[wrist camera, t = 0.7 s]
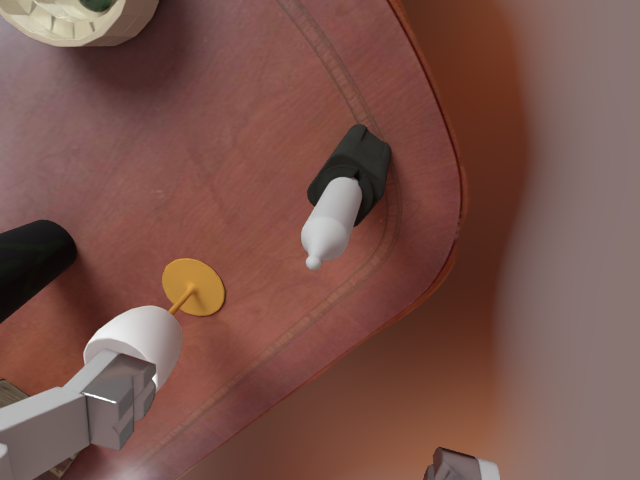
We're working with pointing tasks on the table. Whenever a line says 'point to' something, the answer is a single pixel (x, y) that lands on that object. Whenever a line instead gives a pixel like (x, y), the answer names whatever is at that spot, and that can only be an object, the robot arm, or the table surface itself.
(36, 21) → the bowl
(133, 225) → the table surface
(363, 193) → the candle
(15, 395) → the hardback book
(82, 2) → the bead
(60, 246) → the cup
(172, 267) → the cup
